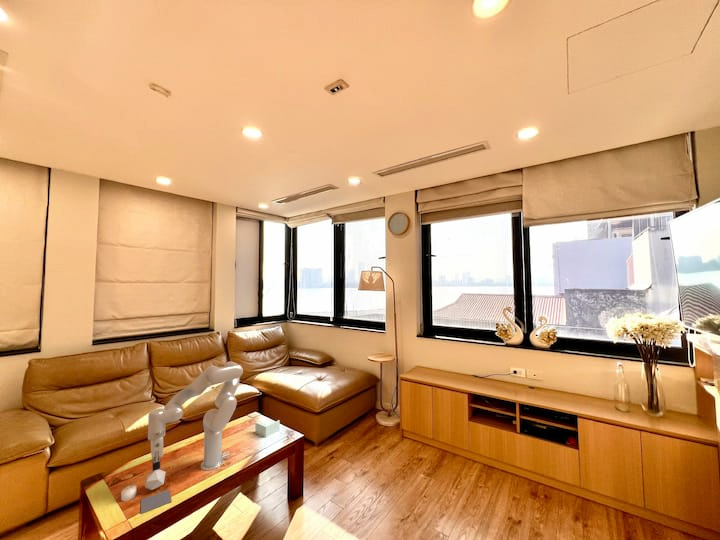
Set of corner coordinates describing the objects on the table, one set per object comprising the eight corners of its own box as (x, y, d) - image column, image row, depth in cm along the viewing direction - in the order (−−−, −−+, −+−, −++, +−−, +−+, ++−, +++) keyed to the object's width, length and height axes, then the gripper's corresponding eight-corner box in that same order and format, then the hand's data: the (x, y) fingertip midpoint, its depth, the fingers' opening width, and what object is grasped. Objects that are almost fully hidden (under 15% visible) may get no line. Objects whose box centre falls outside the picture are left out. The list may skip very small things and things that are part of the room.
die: (162, 479, 156) (162, 461, 155) (167, 488, 150) (167, 469, 150) (143, 488, 149) (143, 470, 149) (148, 498, 144) (148, 479, 143)
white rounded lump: (136, 491, 148) (136, 483, 148) (136, 498, 143) (136, 489, 143) (121, 496, 144) (121, 488, 145) (120, 503, 140) (120, 495, 140)
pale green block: (279, 430, 208) (279, 420, 208) (265, 438, 198) (265, 427, 198) (269, 426, 215) (269, 416, 215) (255, 433, 205) (255, 422, 205)
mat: (169, 489, 149) (169, 488, 149) (171, 502, 140) (171, 501, 140) (141, 500, 142) (141, 499, 142) (140, 514, 133) (140, 513, 133)
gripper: (166, 437, 148) (165, 473, 147) (164, 426, 160) (164, 459, 159) (148, 442, 143) (147, 479, 142) (148, 430, 155) (147, 464, 154)
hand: (156, 469), depth 151 cm, fingers closed
